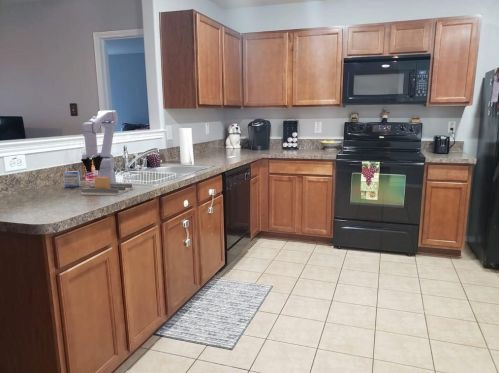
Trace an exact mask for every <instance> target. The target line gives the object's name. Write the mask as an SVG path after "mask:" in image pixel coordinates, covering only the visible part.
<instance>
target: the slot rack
mask: <svg viewBox="0 0 499 373" xmlns="http://www.w3.org/2000/svg"><path fill="white" fill-rule="evenodd" d="M80 189H81V192H80V195H83V196H87V195H89V196H120V195H122V194H124V193H126V192H129V191H132V190H134V187H133V184H132V183H118V184H112V183H110V189H103V188H95V185H89V187H82V188H80Z"/></svg>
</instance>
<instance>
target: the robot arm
mask: <svg viewBox="0 0 499 373" xmlns="http://www.w3.org/2000/svg"><path fill="white" fill-rule="evenodd" d="M118 121H119V116H118V112H117V111H116V110H115V109H113V110H99V111H98V112H97V115H96V116H92V117H91V119H88V121H87V122H86V121H85V122H83V123H82V125H81V132H82V136H83V137H84V143H85V144H84V145H85V146H84V147H85V153H84V154H82V155H81V160H80V161H81V162H82V163H83V166H84V168H85V170H86V173H92V171H93V170H92V168H93V165H94V170H95V171H98V177H109V178H110V183H112V184H119V183H118V182H117V178H116V172H115V170H114V168H115V166H116V164H115V160H116V159H115V157H114V155H113V154H111V152H112V144H113V138H114V133H115V128H116V127H117V125H118ZM100 127H102V128H104V132H103V138H102V145H101V151H100V152H98V142H97V141H98V139H97V133H98V130H99V128H100Z"/></svg>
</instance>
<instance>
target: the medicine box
mask: <svg viewBox="0 0 499 373" xmlns="http://www.w3.org/2000/svg"><path fill="white" fill-rule="evenodd" d="M80 172H81V171H80V170H75V171H73V170H72V171H71V170H70V171H64V172H63V174H62V175H63V182H64V188H65V187H68V188H76V187H77V188H79V187H81V185H82V183H81V176H80Z"/></svg>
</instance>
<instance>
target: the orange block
mask: <svg viewBox="0 0 499 373" xmlns="http://www.w3.org/2000/svg"><path fill="white" fill-rule="evenodd" d="M93 180H94V186H95V188H103V189H110V178H109V177H99V176H97V177H94V179H93Z"/></svg>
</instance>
